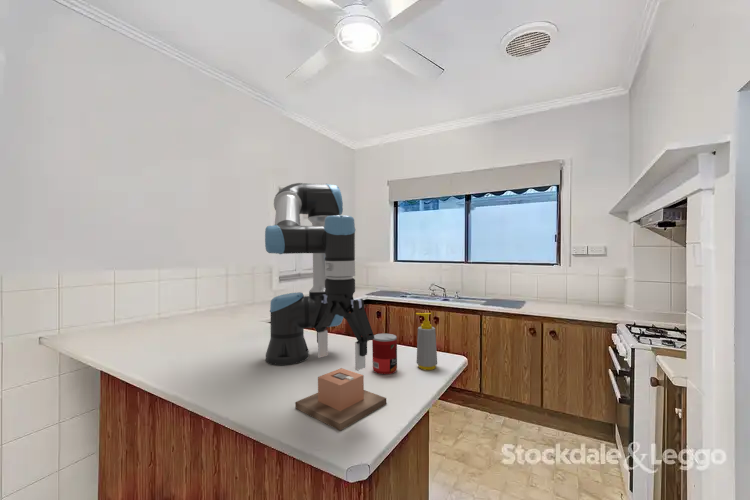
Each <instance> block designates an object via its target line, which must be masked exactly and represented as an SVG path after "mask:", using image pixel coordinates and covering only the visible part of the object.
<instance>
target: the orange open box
mask: <svg viewBox="0 0 750 500" xmlns="http://www.w3.org/2000/svg"><path fill="white" fill-rule="evenodd" d="M339 373H340V374H343V375H346V376H348V377H346V379H344V380H340V379H337V378H335V377H334V375H337V374H339ZM364 377H365V376H364V375H363V374H361V373H358V372H355V371H351V370H349V369H346V368H342V367H341V368H339V369H338V368H337V369H336V370H333V371H330V372H326V373H323V374H322V375H319V376H318V377H317V393H318V401H319V402H321V403H323V404H326V405H328V406H330V407H332V408H334V409H337V410H339V411H342V410H344V409H346V408H348V407H349V406H351V405H353V404H355V403H357V402H359V401H361V400H363V399H364V390H365V388H364V384H365V383H364Z"/></svg>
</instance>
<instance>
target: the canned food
mask: <svg viewBox="0 0 750 500" xmlns="http://www.w3.org/2000/svg"><path fill="white" fill-rule="evenodd" d="M373 335H374V339H372V340H371V341H372V347H371V349H372V370H373V372H375V373H376V374H379V375H391V374H394V373H396V372H397V369H398V338H397V335H396V334H392V333H377V334H373Z"/></svg>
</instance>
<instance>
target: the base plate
mask: <svg viewBox="0 0 750 500" xmlns="http://www.w3.org/2000/svg"><path fill="white" fill-rule="evenodd" d="M334 377H335V378H337V379H340V380H344V379H346V377H348V376H346V375H343V374H340V373H339V374H337V375H334ZM385 405H387V397H386V396H383V395H380V394H376V393H374V392H371V391H368V390H366V389H364V399H363V400H361V401H359V402H357V403H355V404H353V405H351V406H349V407H348V408H346V409H344V410H342V411H339V410H337V409H334V408H332V407H330V406H328V405H326V404H323V403H321V402H319V401H318V392H316V393H313V394H311V395H309V396H306V397H304V398H302V399H299V400H297V401H295V402H294V406H295V409H296V410H298V411H300V412H302V413H305V414H306V415H308V416H310V417H312V418H314V419H315V420H318V421H320V422H322V423H324V424H326V425H328V426H329V427H331V428H334V429H335V430H337V431H342V430H344V429H346V428H348V427H349V426H351V425H352V424H354V423H356V422H358V421H359V420H361V419H362V418H365V417H366V416H368V415H370V414H372V413H374V412H375V411H377V410H378V409H380V408H382V407H383V406H385Z"/></svg>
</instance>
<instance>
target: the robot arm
mask: <svg viewBox="0 0 750 500" xmlns="http://www.w3.org/2000/svg"><path fill="white" fill-rule="evenodd" d="M343 206H344V205H343V196H342V192H341V190H340V187H339V186H338V185H336V184H328V183H303V182H296V183H292V184H289V185H286V186H285V187H282V188H281V189H280V190H279V191H278V192H277V193H276V194H275V197H274V199H273V207H274V211H275V216H274V217H275V219H274V225H268V226H266V227H265V231H264V243H265V245H264V246H265V252H267V253H268V254H277V255H278V254H279V255H283V254H284V255H287V254H312V288H311V289H309V291H308V296H307V295H305V296H304V293H303V292H291V293H285V294H280V295H277V296H274V297H273V298H272V299H271V300H270V306H269V307H270V308H269V309H270V310H269V312H270V339H269V342H268V346H267V348H266V353H265V362H266V363H268V364H270V365H275V366H288V365H294V364H299V363H302V362H305V361H306V360H308V359H309V358H310V357H309V356H310V355H309V353H310V352H309V351H310V350H309V347H308V345H307V342H306V338H305V335H304V334H305V333H304V329H314V331H316V343H317V357H318V358H323V357H326V356H328V355H329V353H328V352H329V351H328V350H329V348H328V347H329V346H328V345H329V343H328V341H329V338H328V333H329V332H328V330H327V328H331V327H337V326H340V325H341V324H342V322H343V320H344V319H345V320H346V321H347V324H348V325H349V327H350V329H351V331H352V332H353V335H354V337H355V339H356V340H357V341H356V342H355V343H354V345H355V346H354V350H355V351H354V354H355V357H354V359H355V360H354V362H355V364H354V365H355V368H354V369H355V371H360V370H363V369H366V356H367V355H368V342H370V341H372V339H374V335H375V334H374V332H373V329H372V325H371V323H370V321H369V318H368V314H367V312H366V309H365V302H364V298H358V299H354V294H355V292H356V279H355V278H354V277H355V276H356V261H355V259H356V258H355V256H356V254H355V253H356V250H355V248H356V247H355V246H356V244H355V242H356V227H355V219H354V217H353V216H351V215H342V214H343V212H344V211H343V209H344V208H343ZM301 215H307V219H308V221H309V222H310V223H312V225H301Z"/></svg>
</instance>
